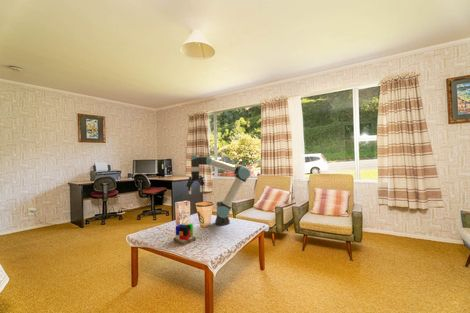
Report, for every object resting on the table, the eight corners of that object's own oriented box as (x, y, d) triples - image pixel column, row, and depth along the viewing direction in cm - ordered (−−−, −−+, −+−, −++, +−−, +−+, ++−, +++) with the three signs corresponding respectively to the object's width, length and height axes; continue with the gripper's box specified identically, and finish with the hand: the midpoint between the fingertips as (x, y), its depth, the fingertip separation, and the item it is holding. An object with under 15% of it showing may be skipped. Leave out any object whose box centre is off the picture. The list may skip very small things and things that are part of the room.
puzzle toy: (175, 238, 177) (175, 226, 177) (182, 234, 186) (182, 223, 186) (186, 240, 174) (186, 227, 173) (192, 235, 183) (192, 224, 183)
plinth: (186, 236, 189) (186, 233, 189) (195, 240, 181) (195, 236, 180) (173, 241, 179) (173, 237, 179) (182, 245, 171) (182, 241, 171)
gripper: (202, 170, 220) (203, 190, 220) (182, 171, 201) (182, 194, 201) (207, 170, 215) (208, 191, 215) (187, 172, 196) (187, 195, 196)
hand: (195, 193), depth 208 cm, fingers open, 13 cm apart
